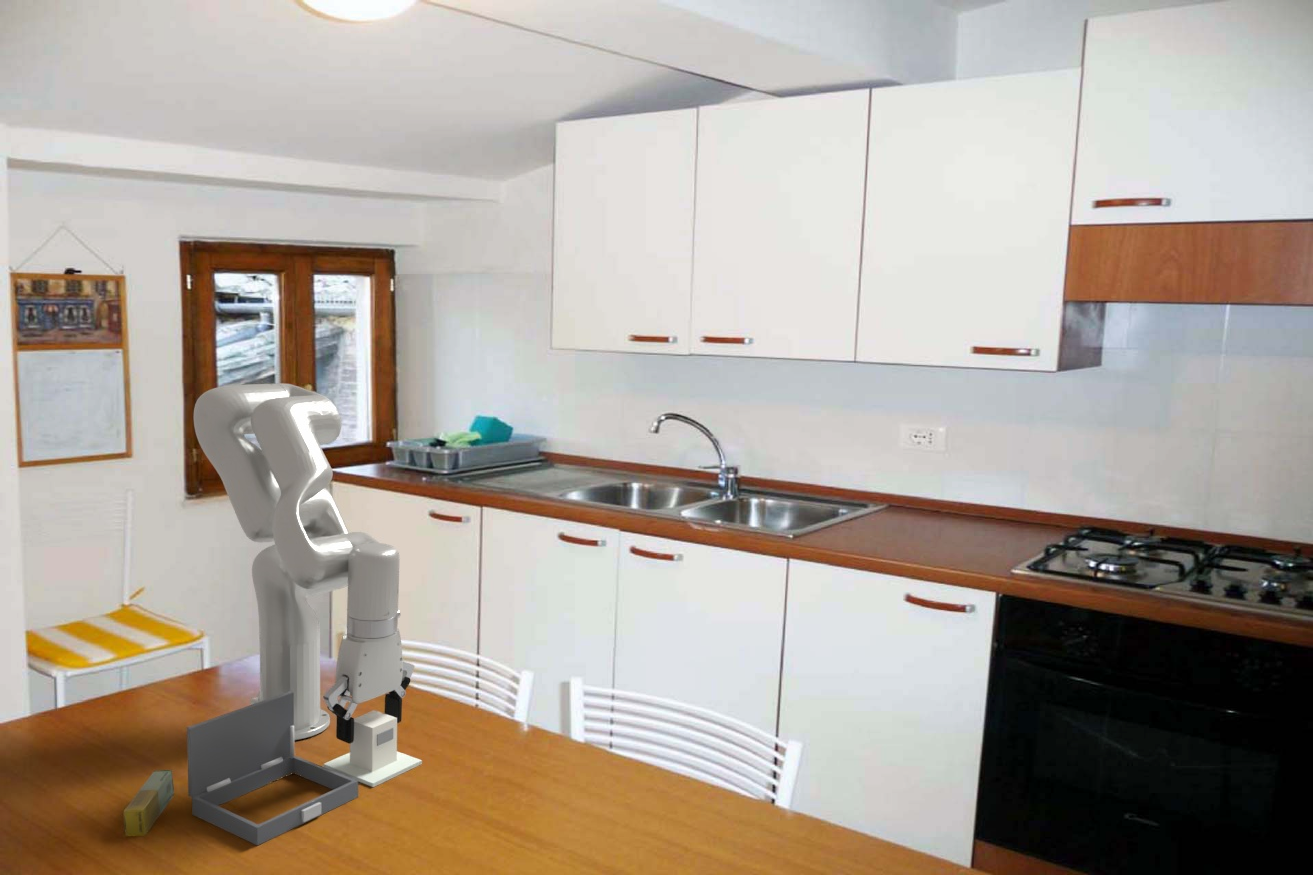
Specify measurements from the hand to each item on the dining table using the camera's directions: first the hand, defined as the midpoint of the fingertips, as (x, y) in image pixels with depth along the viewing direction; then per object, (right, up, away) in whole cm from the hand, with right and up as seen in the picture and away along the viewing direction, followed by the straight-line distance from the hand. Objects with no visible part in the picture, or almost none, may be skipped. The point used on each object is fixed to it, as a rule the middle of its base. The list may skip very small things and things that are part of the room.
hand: (369, 730), depth 165 cm
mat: (+1, -6, 0) cm, 6 cm away
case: (-9, -7, -14) cm, 18 cm away
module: (+1, -5, 0) cm, 5 cm away
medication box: (-26, -7, -17) cm, 32 cm away
